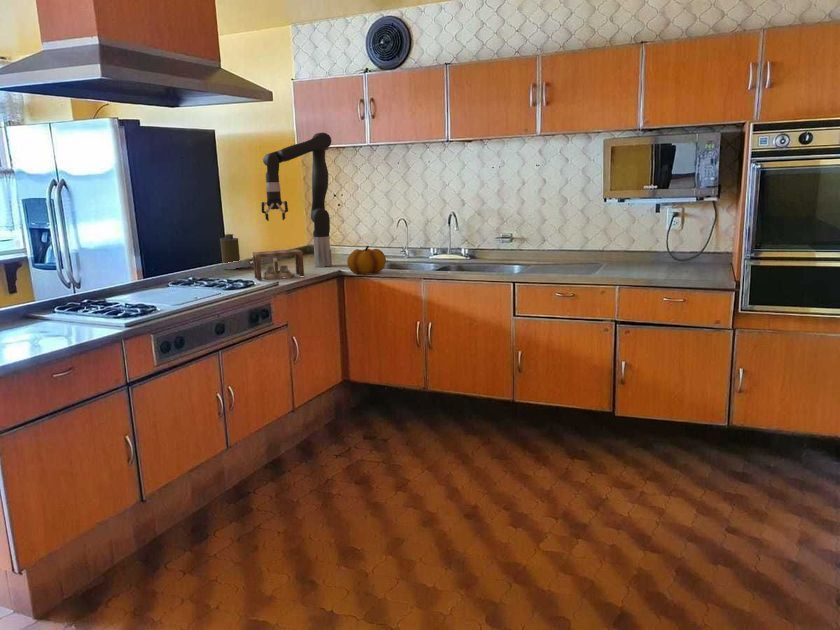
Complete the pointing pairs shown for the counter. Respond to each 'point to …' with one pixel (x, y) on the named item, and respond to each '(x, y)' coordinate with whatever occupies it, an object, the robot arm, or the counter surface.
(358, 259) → the decorative pumpkin
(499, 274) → the counter surface
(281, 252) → the wooden rack
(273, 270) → the tray
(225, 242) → the canister
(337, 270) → the counter surface
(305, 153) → the robot arm
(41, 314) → the counter surface
